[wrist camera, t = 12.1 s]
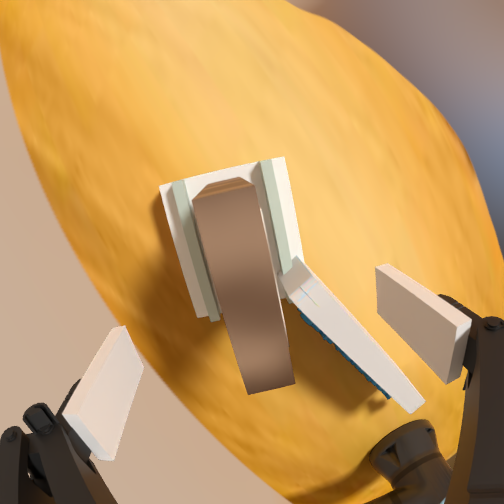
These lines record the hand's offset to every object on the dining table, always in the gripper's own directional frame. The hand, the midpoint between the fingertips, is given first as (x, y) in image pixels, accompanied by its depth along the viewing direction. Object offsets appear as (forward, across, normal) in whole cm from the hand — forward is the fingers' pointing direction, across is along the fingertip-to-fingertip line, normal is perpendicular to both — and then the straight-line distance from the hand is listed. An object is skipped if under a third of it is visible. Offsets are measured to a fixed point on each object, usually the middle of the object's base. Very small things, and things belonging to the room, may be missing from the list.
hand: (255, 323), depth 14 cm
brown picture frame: (+15, 0, 0) cm, 15 cm away
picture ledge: (+18, 0, -1) cm, 18 cm away
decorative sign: (+19, -12, +17) cm, 28 cm away
